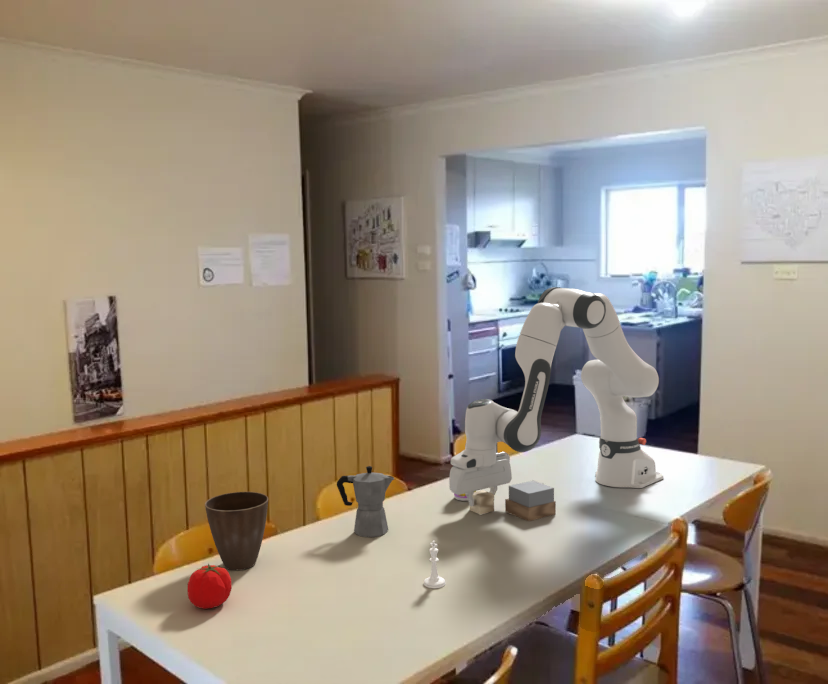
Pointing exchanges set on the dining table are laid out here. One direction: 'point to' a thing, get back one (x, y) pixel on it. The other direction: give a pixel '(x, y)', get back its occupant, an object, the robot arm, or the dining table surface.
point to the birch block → (483, 502)
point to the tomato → (209, 586)
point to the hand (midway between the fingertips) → (481, 503)
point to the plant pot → (237, 527)
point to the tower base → (530, 510)
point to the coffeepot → (368, 501)
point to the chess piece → (434, 570)
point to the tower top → (531, 493)
